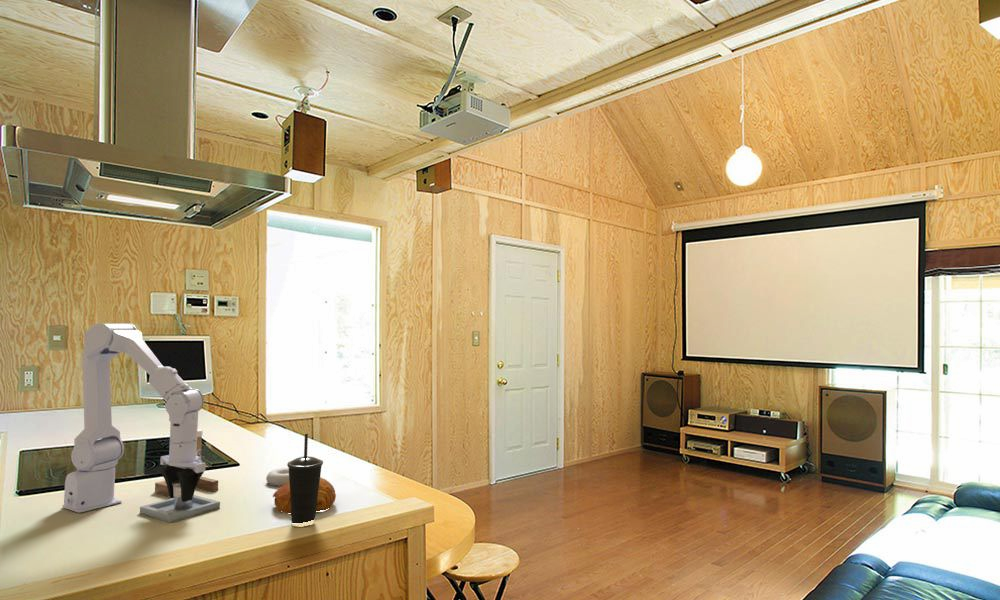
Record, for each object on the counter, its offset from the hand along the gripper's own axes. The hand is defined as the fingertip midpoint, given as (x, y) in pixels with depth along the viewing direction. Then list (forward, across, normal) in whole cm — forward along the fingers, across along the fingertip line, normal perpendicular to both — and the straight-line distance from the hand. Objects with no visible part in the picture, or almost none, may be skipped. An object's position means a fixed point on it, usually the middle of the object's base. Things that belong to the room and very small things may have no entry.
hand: (181, 498), depth 136 cm
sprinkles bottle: (+3, +25, -19) cm, 32 cm away
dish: (+3, 0, 0) cm, 3 cm away
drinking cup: (+3, -31, -9) cm, 32 cm away
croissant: (+3, -22, -18) cm, 28 cm away
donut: (+3, -1, -30) cm, 30 cm away
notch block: (+3, +13, -10) cm, 17 cm away
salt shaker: (+2, 0, -1) cm, 2 cm away
